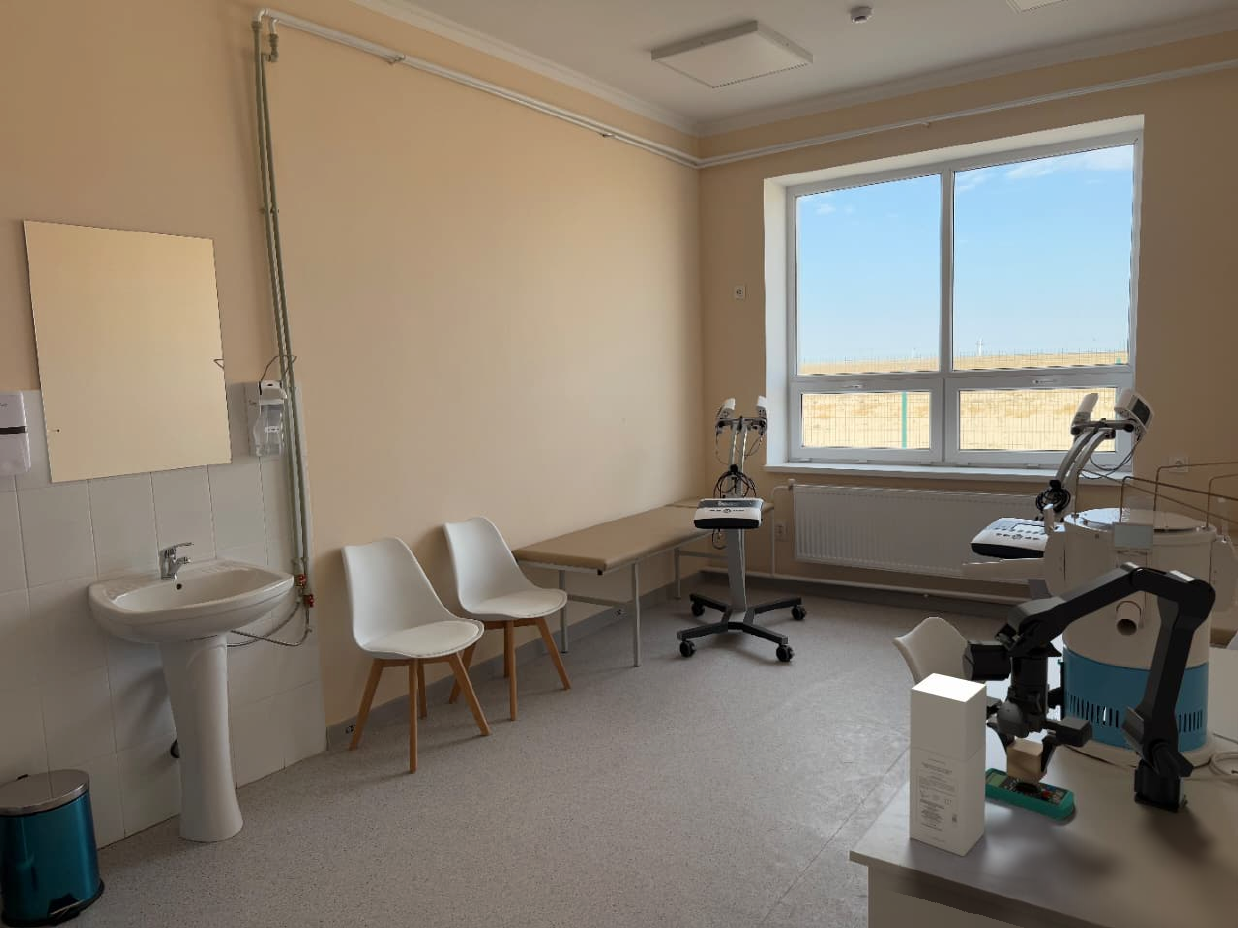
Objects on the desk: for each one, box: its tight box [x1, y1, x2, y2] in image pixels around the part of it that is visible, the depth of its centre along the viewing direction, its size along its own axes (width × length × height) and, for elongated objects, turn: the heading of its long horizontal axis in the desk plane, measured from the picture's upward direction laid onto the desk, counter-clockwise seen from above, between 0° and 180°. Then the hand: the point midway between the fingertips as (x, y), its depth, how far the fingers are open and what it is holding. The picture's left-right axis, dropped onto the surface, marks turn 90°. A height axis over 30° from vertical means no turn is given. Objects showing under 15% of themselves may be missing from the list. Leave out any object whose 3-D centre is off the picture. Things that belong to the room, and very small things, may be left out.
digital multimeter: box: [985, 767, 1075, 821], centre depth 149 cm, size 7×15×3 cm, turn 47°
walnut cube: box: [1005, 737, 1048, 784], centre depth 148 cm, size 5×5×5 cm
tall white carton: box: [908, 672, 988, 857], centre depth 137 cm, size 9×9×25 cm
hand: (1026, 766), depth 148 cm, fingers closed on walnut cube, 5 cm apart
